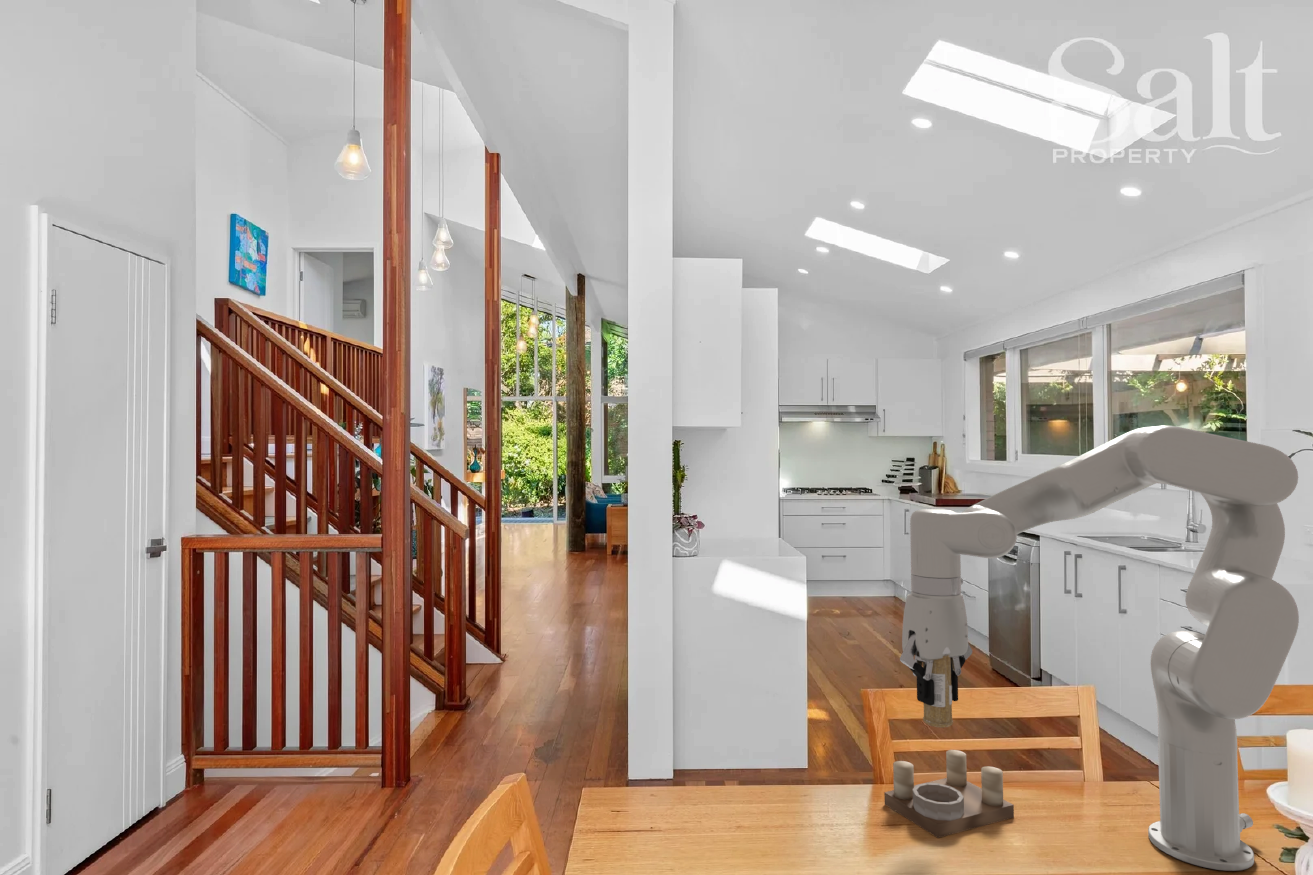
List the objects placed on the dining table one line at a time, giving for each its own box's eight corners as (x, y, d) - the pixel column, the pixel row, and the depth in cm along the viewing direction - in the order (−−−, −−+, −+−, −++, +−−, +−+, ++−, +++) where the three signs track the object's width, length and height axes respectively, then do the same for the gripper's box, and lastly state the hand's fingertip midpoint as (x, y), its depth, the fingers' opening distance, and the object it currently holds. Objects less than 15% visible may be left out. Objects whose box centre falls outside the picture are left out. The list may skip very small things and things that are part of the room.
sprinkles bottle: (958, 724, 117) (957, 639, 117) (941, 730, 114) (939, 643, 115) (934, 716, 121) (932, 634, 121) (916, 721, 118) (915, 637, 119)
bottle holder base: (956, 786, 130) (956, 746, 130) (1013, 817, 118) (1012, 773, 119) (884, 804, 123) (883, 762, 123) (937, 837, 112) (937, 791, 112)
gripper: (957, 579, 125) (959, 687, 124) (878, 586, 118) (879, 700, 118) (993, 586, 118) (995, 700, 118) (911, 594, 111) (913, 715, 111)
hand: (937, 699), depth 118 cm, fingers closed on sprinkles bottle, 4 cm apart
